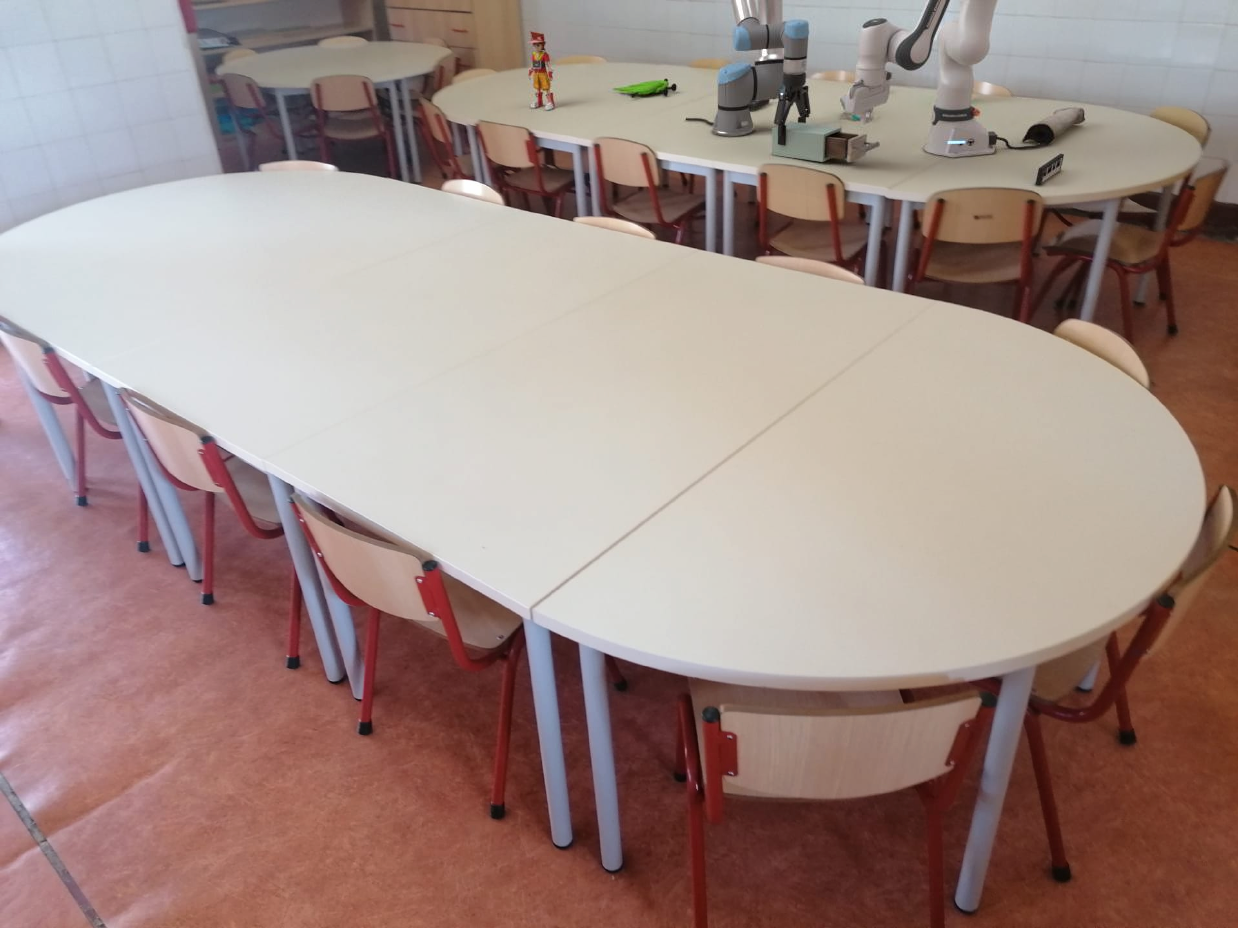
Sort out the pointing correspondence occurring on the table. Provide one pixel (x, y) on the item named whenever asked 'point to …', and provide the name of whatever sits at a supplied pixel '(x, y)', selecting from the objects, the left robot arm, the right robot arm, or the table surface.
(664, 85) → the toy
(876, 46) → the right robot arm
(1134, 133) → the table surface
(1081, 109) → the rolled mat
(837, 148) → the drawer
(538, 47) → the toy
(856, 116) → the anatomical model
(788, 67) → the left robot arm
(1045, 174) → the midi keyboard
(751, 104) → the disk drive
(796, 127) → the cabinet
